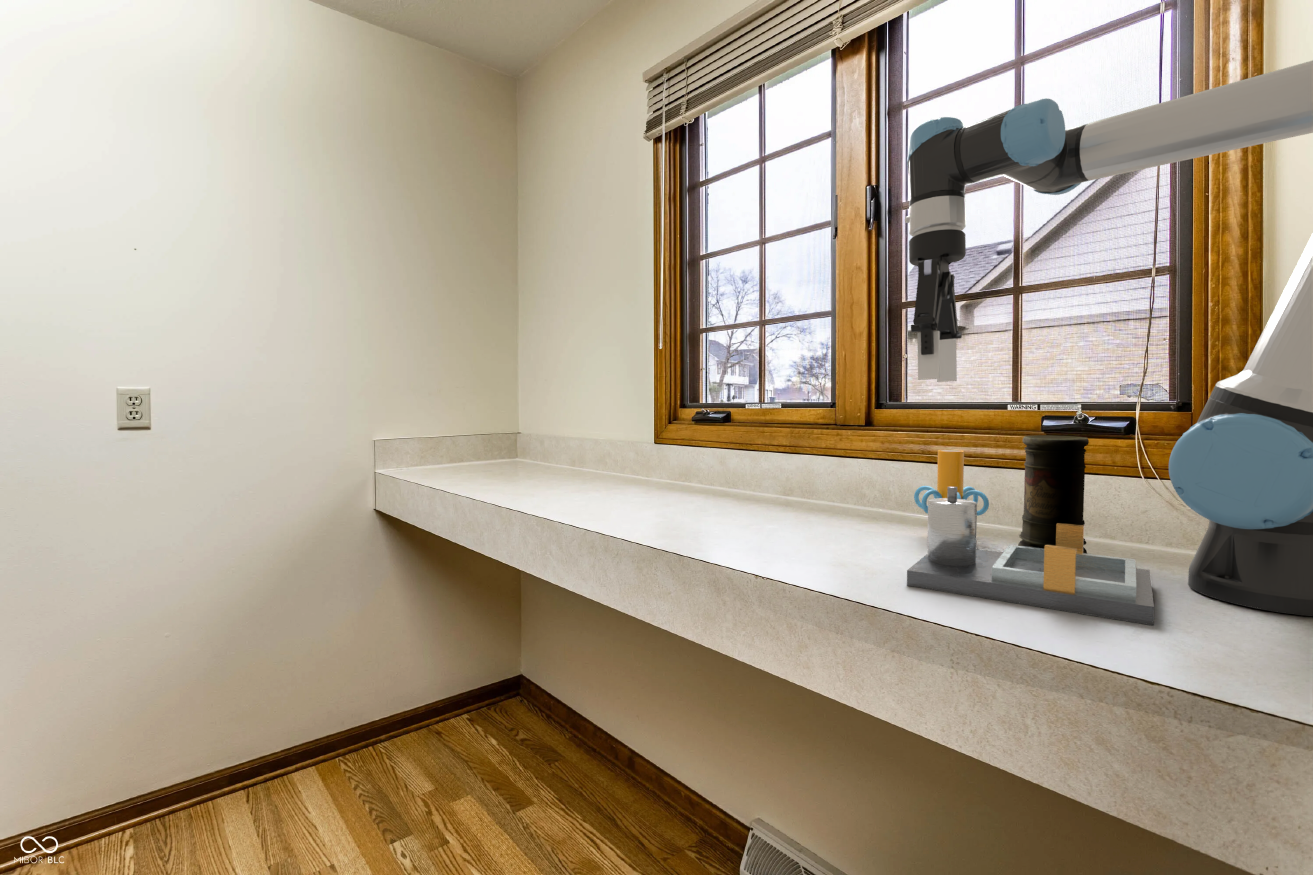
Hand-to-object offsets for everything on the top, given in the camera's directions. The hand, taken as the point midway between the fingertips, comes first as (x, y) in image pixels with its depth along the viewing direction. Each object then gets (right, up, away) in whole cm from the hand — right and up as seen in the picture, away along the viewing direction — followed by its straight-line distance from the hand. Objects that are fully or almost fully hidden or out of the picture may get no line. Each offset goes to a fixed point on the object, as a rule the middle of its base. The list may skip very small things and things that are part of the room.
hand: (938, 380), depth 92 cm
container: (+19, -26, +3) cm, 33 cm away
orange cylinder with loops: (+9, -26, +15) cm, 31 cm away
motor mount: (+6, -27, -12) cm, 30 cm away
